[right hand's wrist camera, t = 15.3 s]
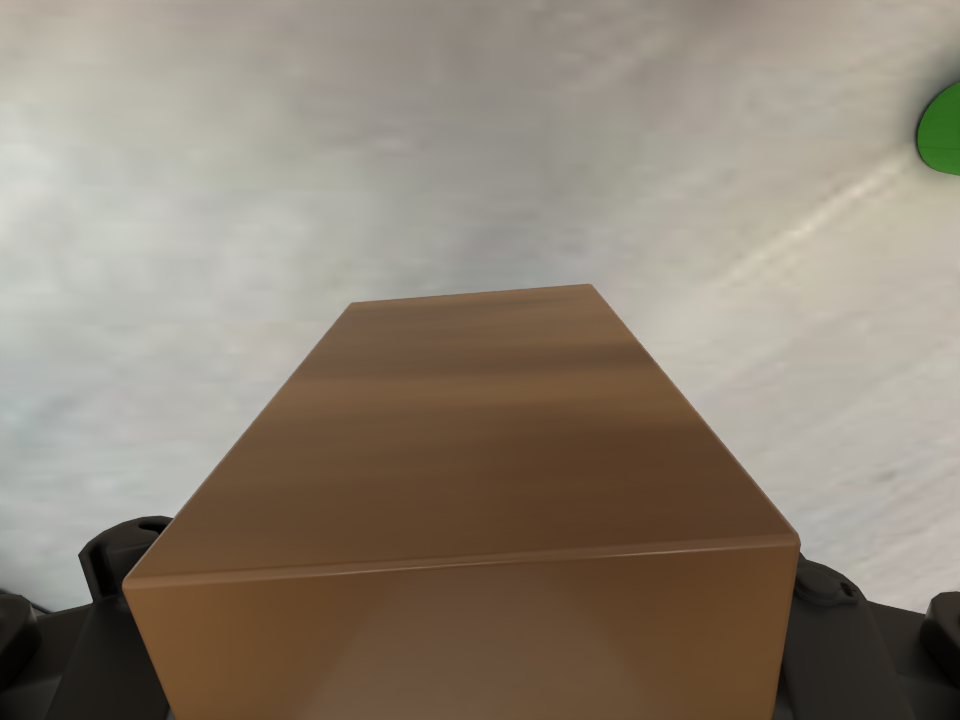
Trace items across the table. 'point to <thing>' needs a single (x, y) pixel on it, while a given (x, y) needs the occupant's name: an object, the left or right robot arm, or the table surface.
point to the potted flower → (942, 132)
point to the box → (472, 534)
